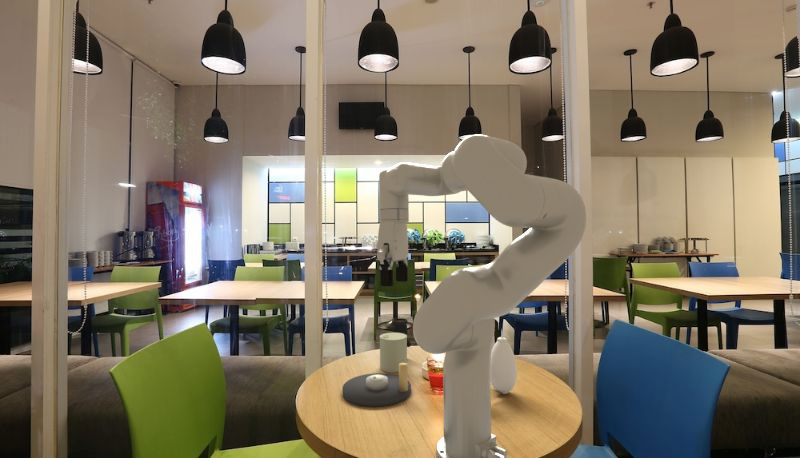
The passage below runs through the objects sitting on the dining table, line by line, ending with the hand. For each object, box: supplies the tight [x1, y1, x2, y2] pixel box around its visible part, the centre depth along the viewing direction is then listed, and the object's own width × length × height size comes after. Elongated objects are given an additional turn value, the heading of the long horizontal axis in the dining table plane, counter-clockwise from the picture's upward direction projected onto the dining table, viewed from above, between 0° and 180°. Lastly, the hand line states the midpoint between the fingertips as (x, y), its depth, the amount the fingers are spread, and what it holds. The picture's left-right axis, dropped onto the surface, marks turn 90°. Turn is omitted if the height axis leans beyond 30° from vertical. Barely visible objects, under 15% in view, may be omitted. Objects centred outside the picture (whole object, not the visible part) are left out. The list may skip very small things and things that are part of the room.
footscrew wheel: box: [342, 362, 412, 408], centre depth 103 cm, size 19×19×8 cm
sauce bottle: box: [490, 329, 518, 395], centre depth 105 cm, size 8×8×18 cm
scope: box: [392, 317, 412, 348], centre depth 135 cm, size 8×14×10 cm
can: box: [379, 332, 408, 373], centre depth 122 cm, size 9×9×12 cm
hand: (394, 283), depth 95 cm, fingers open, 9 cm apart
